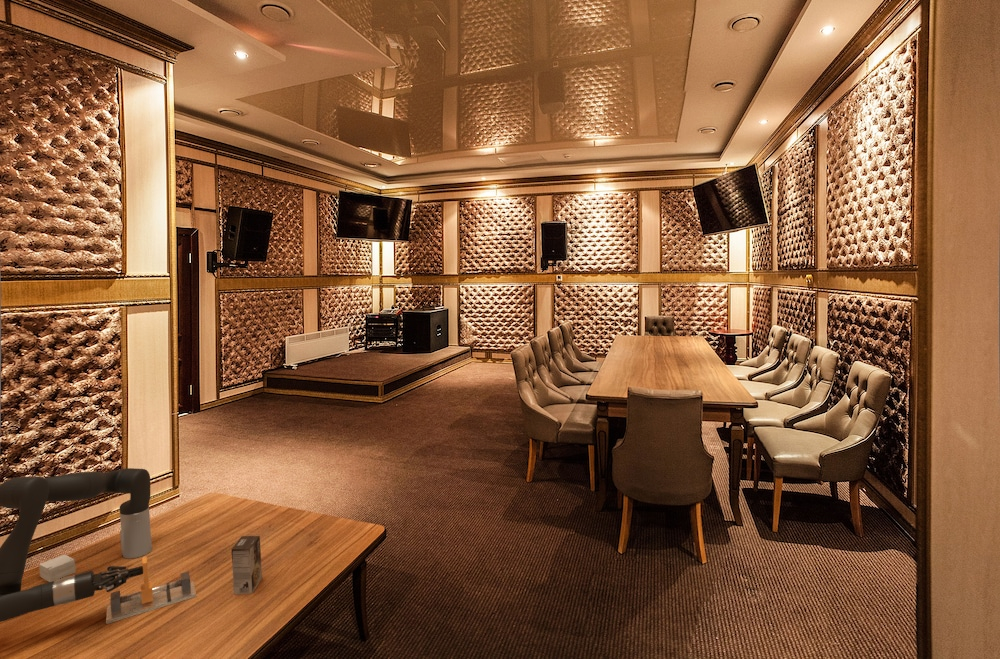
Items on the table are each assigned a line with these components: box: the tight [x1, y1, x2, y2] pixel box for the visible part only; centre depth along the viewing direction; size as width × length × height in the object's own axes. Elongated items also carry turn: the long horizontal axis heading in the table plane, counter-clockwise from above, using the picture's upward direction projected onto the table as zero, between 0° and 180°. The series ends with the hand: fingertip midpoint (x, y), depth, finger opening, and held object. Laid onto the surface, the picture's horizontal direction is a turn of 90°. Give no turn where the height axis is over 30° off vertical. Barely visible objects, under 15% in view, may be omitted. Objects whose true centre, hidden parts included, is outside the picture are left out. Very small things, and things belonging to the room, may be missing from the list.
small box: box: [38, 554, 77, 583], centre depth 188 cm, size 8×8×5 cm
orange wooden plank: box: [140, 555, 153, 604], centre depth 170 cm, size 3×5×13 cm, turn 35°
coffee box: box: [231, 535, 263, 595], centre depth 180 cm, size 9×6×16 cm
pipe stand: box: [105, 570, 197, 625], centre depth 171 cm, size 24×9×6 cm, turn 125°
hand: (143, 569), depth 169 cm, fingers closed
